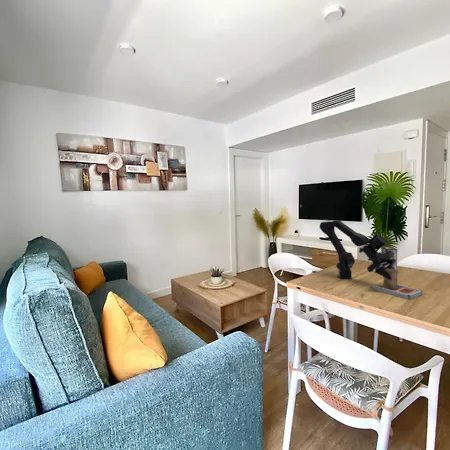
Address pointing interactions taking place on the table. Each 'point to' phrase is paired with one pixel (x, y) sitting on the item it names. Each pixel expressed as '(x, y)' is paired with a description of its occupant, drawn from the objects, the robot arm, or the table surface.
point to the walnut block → (393, 282)
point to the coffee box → (394, 254)
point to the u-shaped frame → (395, 293)
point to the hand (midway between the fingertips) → (393, 278)
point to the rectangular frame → (406, 291)
